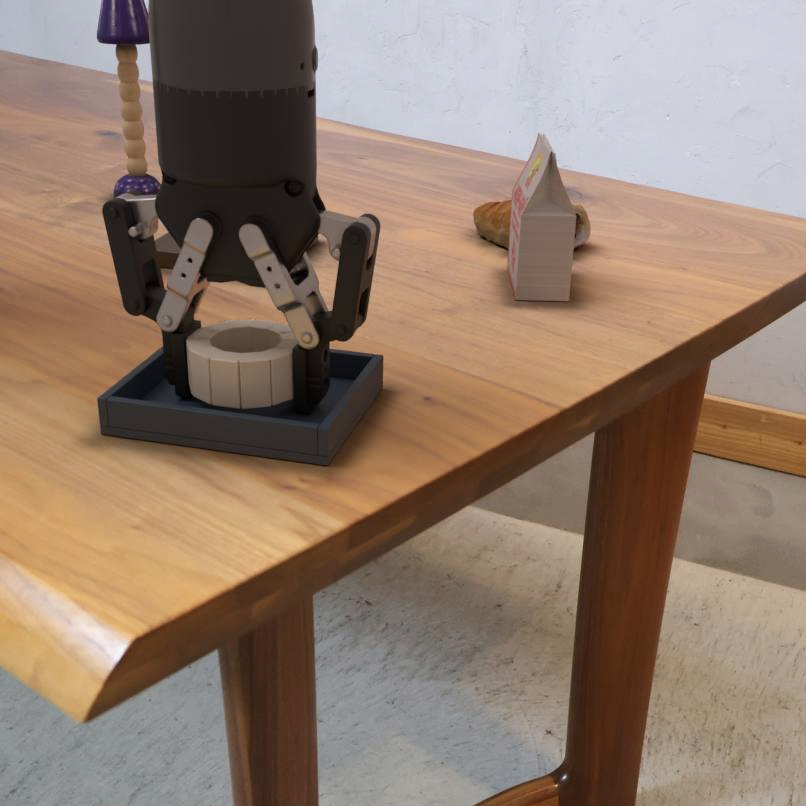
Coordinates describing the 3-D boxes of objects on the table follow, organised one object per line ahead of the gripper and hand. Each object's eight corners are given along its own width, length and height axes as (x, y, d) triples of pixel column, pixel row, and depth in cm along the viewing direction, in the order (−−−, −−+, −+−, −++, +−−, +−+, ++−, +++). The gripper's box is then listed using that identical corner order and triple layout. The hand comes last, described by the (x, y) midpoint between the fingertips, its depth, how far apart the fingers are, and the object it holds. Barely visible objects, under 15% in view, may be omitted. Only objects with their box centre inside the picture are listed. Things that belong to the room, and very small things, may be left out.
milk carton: (556, 270, 85) (568, 133, 81) (568, 301, 79) (581, 154, 75) (507, 269, 85) (515, 132, 80) (515, 299, 79) (525, 153, 74)
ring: (170, 400, 59) (166, 352, 57) (217, 358, 64) (214, 314, 63) (282, 415, 58) (280, 367, 56) (320, 371, 63) (319, 326, 62)
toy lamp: (101, 192, 100) (81, -13, 93) (149, 185, 103) (134, -15, 96) (128, 204, 97) (110, -8, 90) (177, 197, 100) (163, -9, 93)
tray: (100, 434, 58) (96, 398, 57) (183, 362, 67) (181, 330, 66) (327, 466, 56) (327, 429, 55) (383, 387, 65) (383, 354, 64)
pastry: (453, 238, 92) (455, 190, 90) (502, 222, 97) (505, 177, 95) (551, 263, 87) (555, 213, 85) (598, 245, 92) (602, 198, 90)
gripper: (51, 70, 52) (89, 411, 59) (359, 95, 49) (358, 448, 56) (129, 49, 58) (154, 358, 66) (404, 70, 56) (397, 389, 63)
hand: (248, 398), depth 61 cm, fingers closed on ring, 6 cm apart
